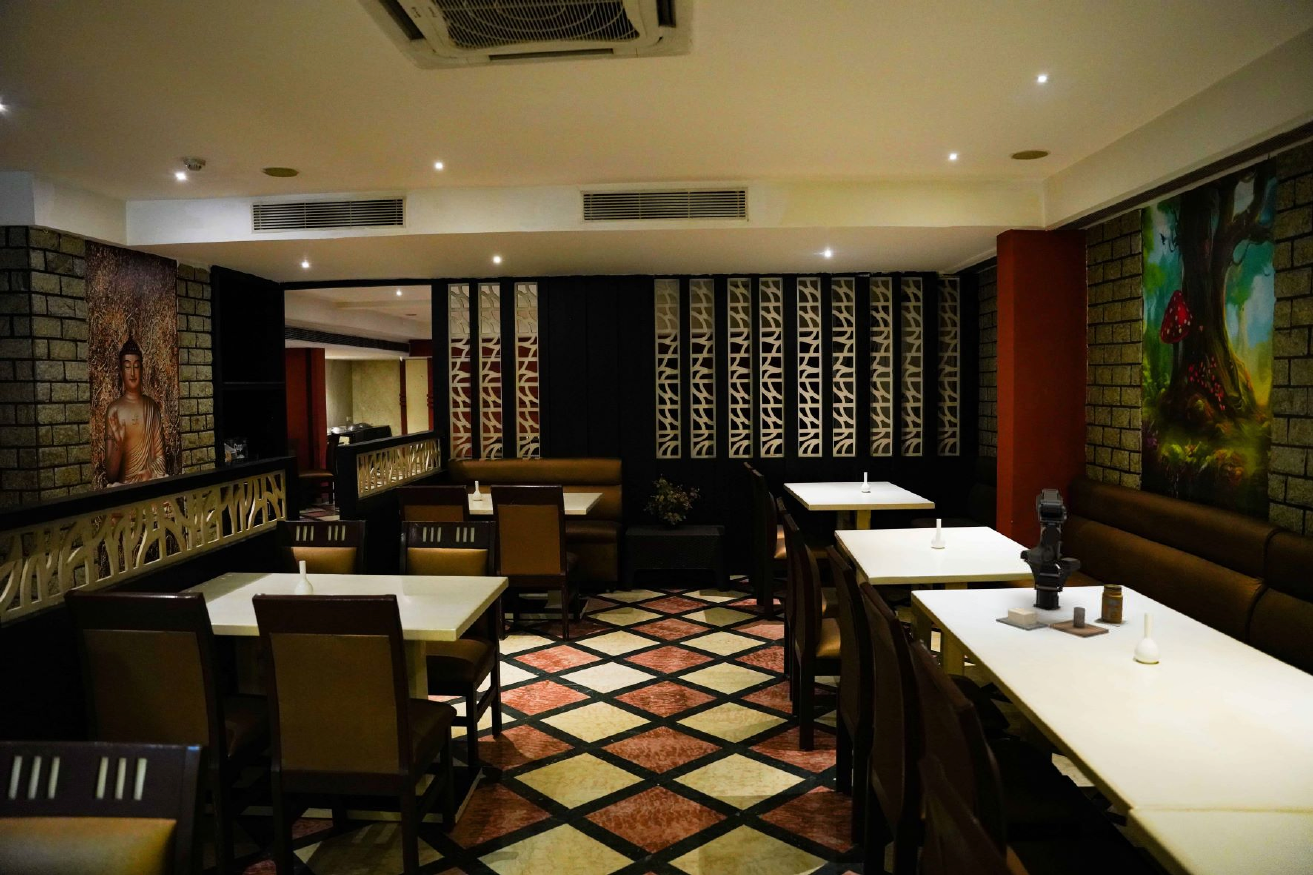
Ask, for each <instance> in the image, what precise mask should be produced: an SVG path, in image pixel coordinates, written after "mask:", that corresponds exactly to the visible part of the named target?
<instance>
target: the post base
mask: <svg viewBox="0 0 1313 875" xmlns="http://www.w3.org/2000/svg"><path fill="white" fill-rule="evenodd" d="M1048 625H1049V626H1048V627H1049V628H1050V629H1052V628H1053V629H1052V630H1056V631H1059V632H1063V633H1067V634H1070V635H1074V636H1077V637H1080V638H1084V639H1086V638H1089V637H1090V638H1091V637H1095V636H1099V634H1100V635H1102V634H1108V633H1110V632H1109V630H1110V629H1109V628H1105V627H1102V626H1098V625H1094V624H1090V623H1087V622H1086V608H1084V607H1082V606H1081V607H1080V606H1075V607H1074V606H1073V619H1070V620H1066V621H1060V622H1056V623H1050V624H1048Z"/></svg>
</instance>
